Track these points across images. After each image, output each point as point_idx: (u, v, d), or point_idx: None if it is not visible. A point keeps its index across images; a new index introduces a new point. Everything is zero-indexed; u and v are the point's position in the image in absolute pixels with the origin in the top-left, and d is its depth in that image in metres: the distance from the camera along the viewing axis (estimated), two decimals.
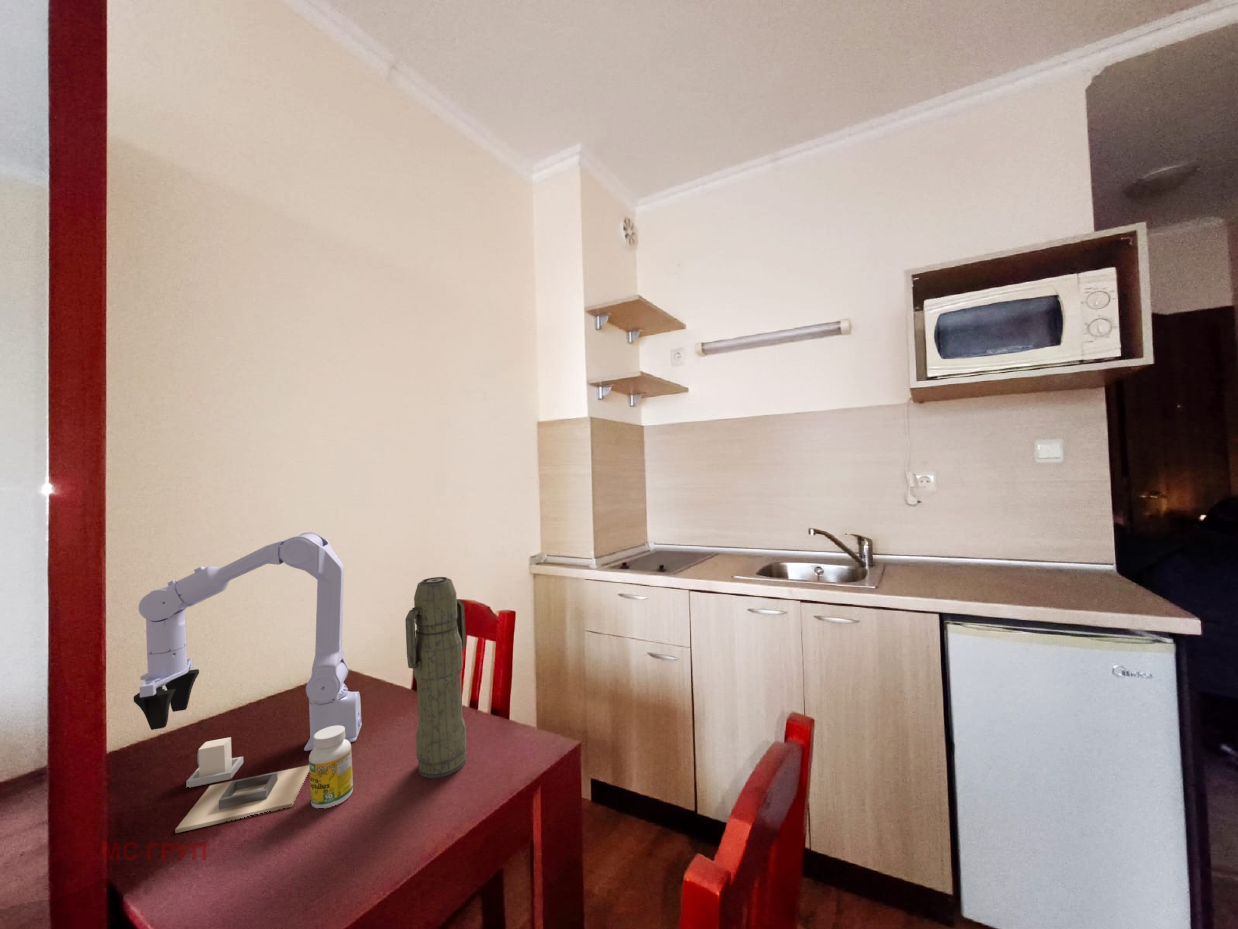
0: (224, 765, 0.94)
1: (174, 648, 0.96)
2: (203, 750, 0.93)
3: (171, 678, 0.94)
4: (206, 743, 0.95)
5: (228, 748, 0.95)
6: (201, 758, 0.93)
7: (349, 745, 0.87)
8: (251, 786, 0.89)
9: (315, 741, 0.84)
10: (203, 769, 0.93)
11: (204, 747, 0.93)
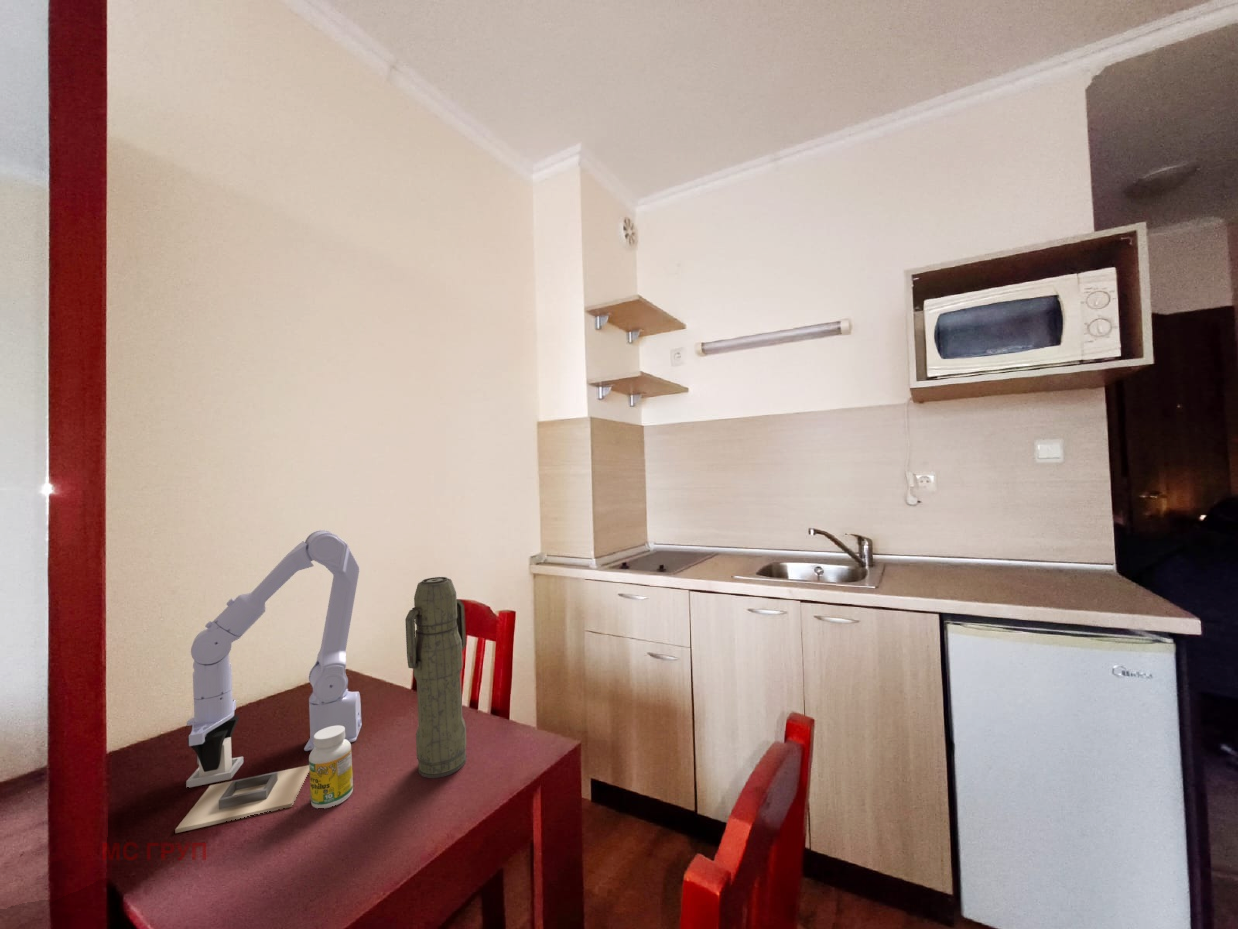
0: (224, 765, 0.94)
1: (226, 690, 0.94)
2: None
3: (219, 724, 0.92)
4: None
5: (228, 748, 0.95)
6: None
7: (349, 745, 0.87)
8: (251, 786, 0.89)
9: (315, 741, 0.84)
10: None
11: None
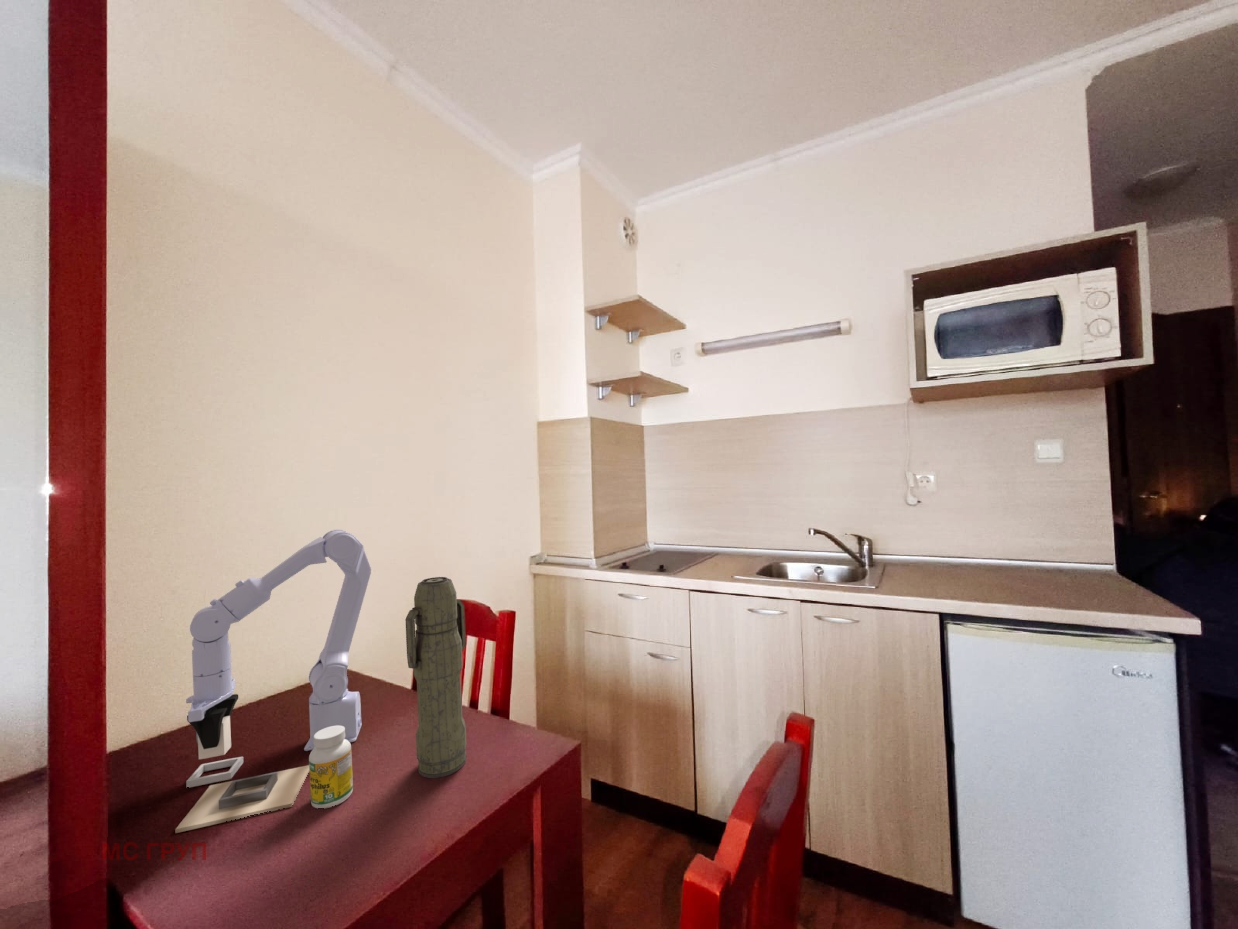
0: (224, 743, 0.94)
1: (225, 668, 0.94)
2: None
3: (218, 701, 0.92)
4: None
5: (227, 726, 0.95)
6: None
7: (349, 745, 0.87)
8: (251, 786, 0.89)
9: (315, 741, 0.84)
10: (202, 747, 0.93)
11: None
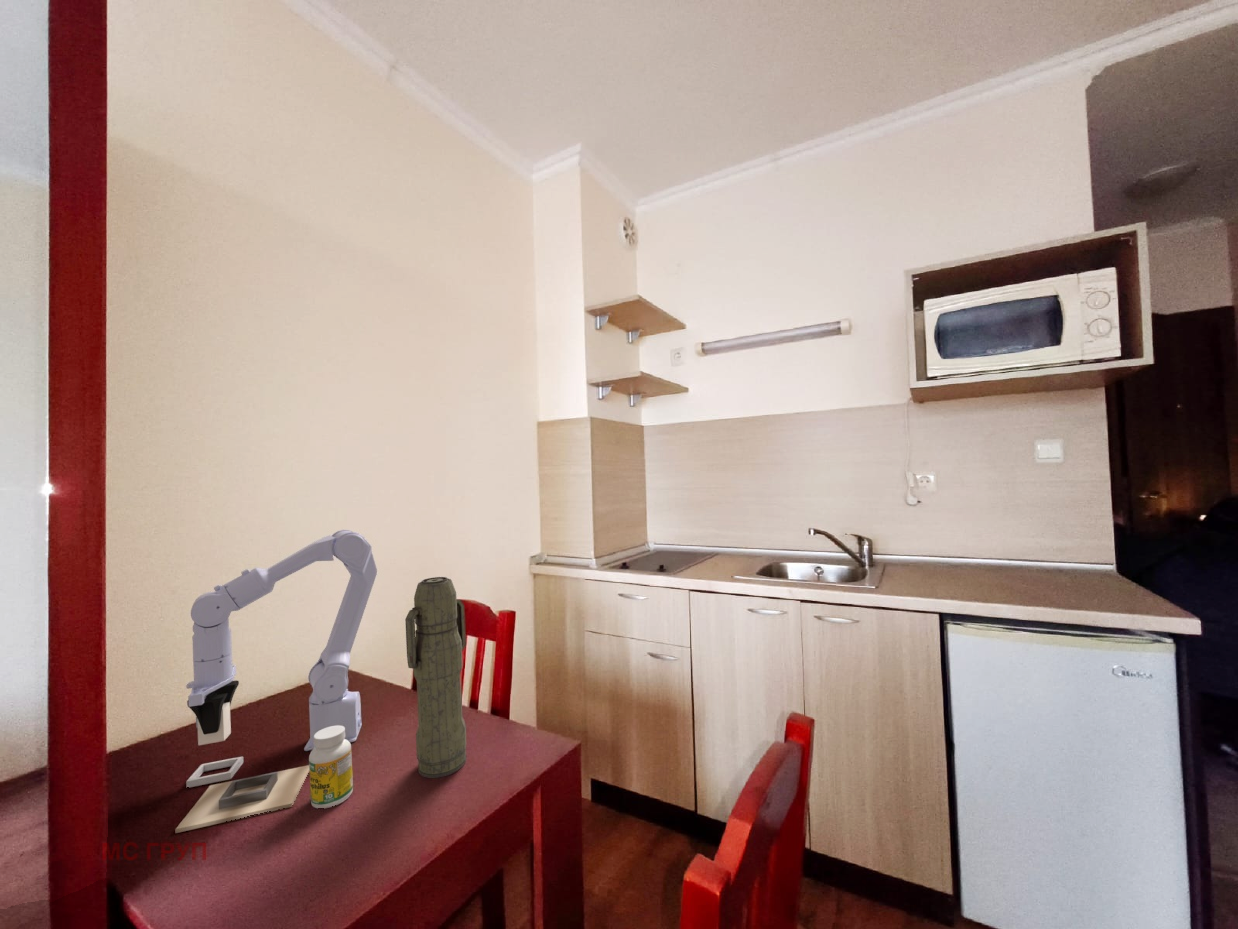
0: (223, 729, 0.93)
1: (226, 654, 0.94)
2: None
3: (218, 686, 0.92)
4: None
5: (226, 713, 0.95)
6: None
7: (349, 745, 0.87)
8: (251, 786, 0.89)
9: (315, 741, 0.84)
10: (202, 732, 0.92)
11: None
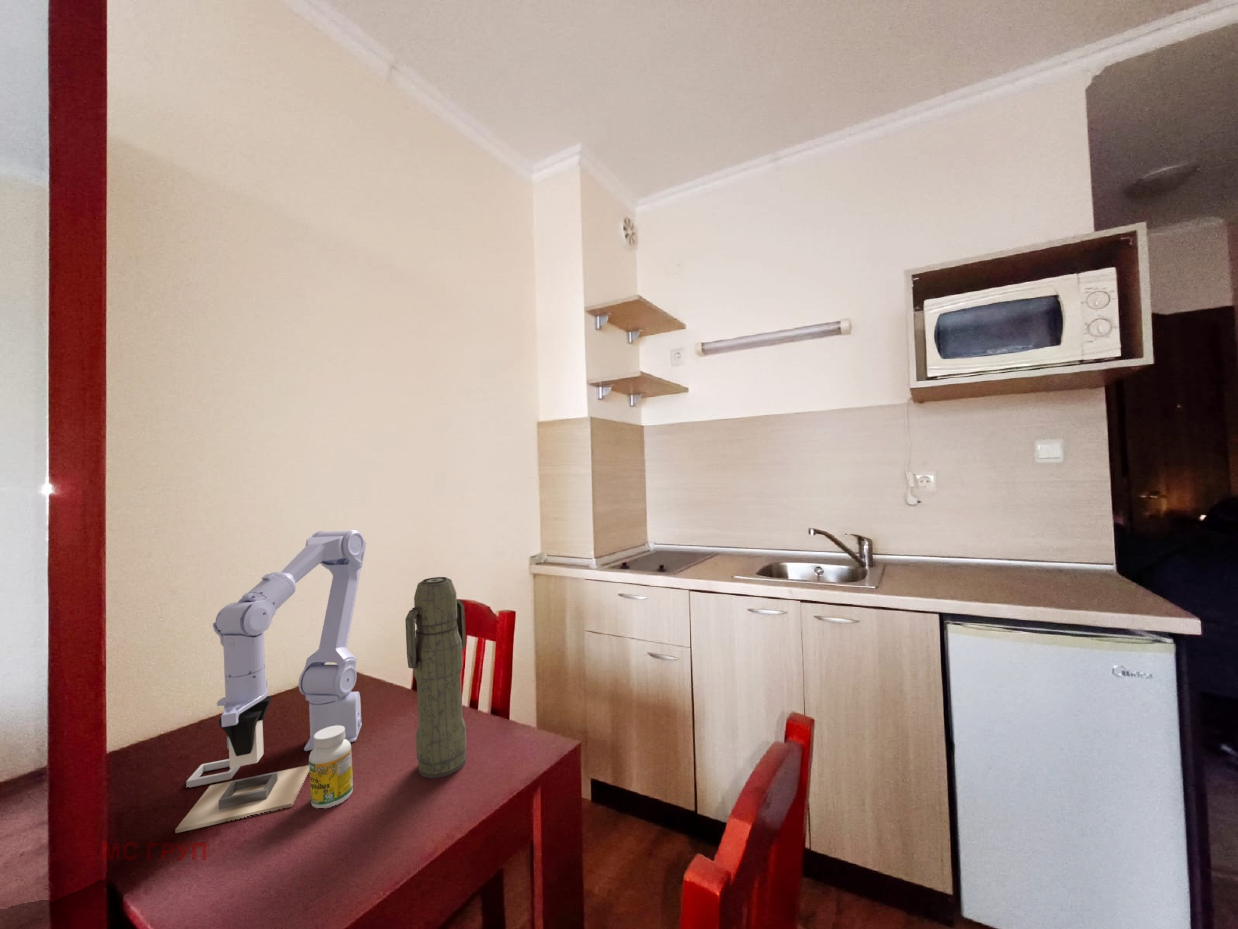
0: (256, 750, 0.86)
1: (264, 664, 0.89)
2: None
3: (252, 704, 0.85)
4: None
5: (259, 732, 0.88)
6: None
7: (349, 745, 0.87)
8: (251, 786, 0.89)
9: (315, 741, 0.84)
10: (233, 754, 0.85)
11: None
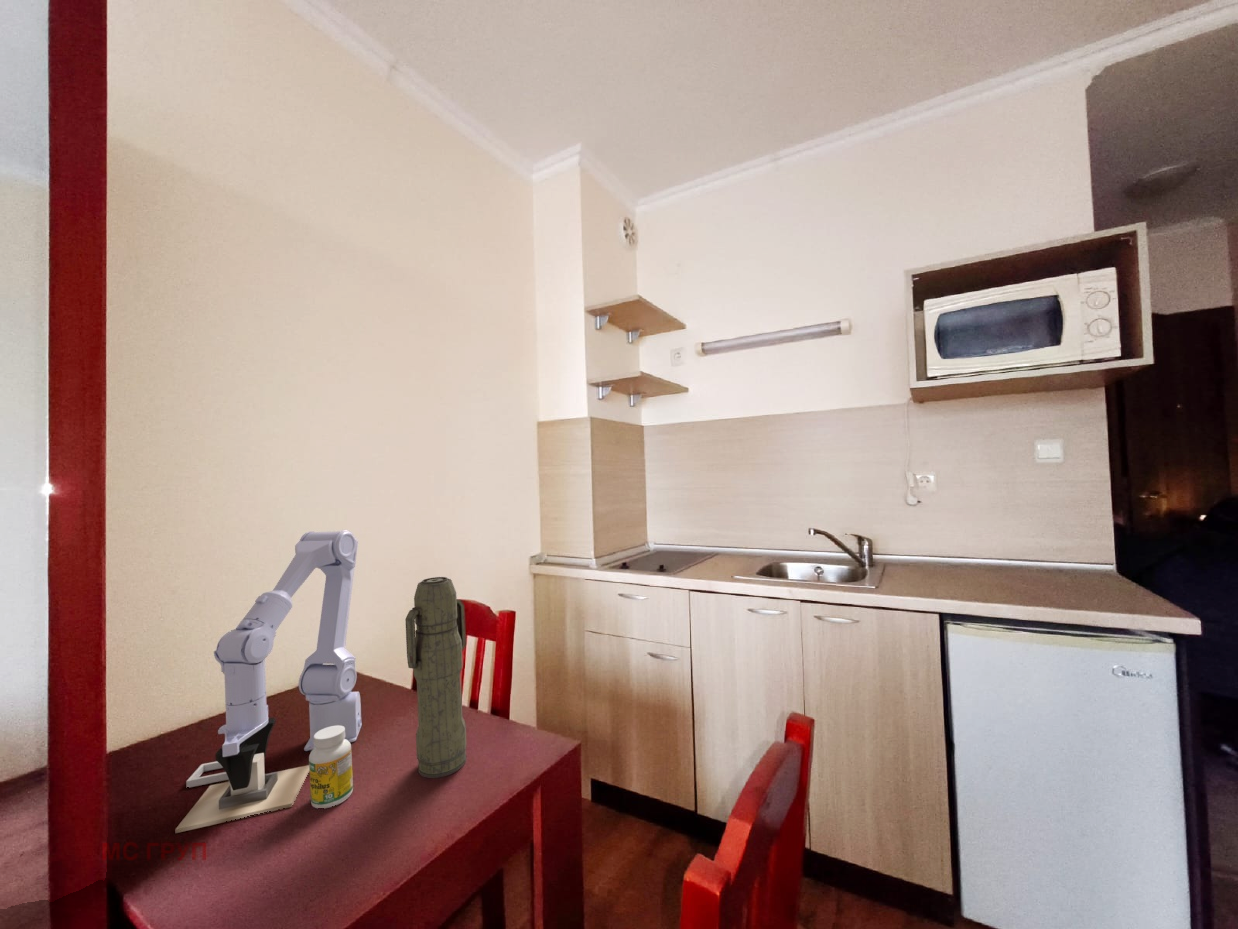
0: (257, 784, 0.86)
1: (265, 690, 0.89)
2: None
3: (253, 732, 0.85)
4: None
5: (261, 765, 0.88)
6: None
7: (349, 745, 0.87)
8: None
9: (315, 741, 0.84)
10: None
11: None
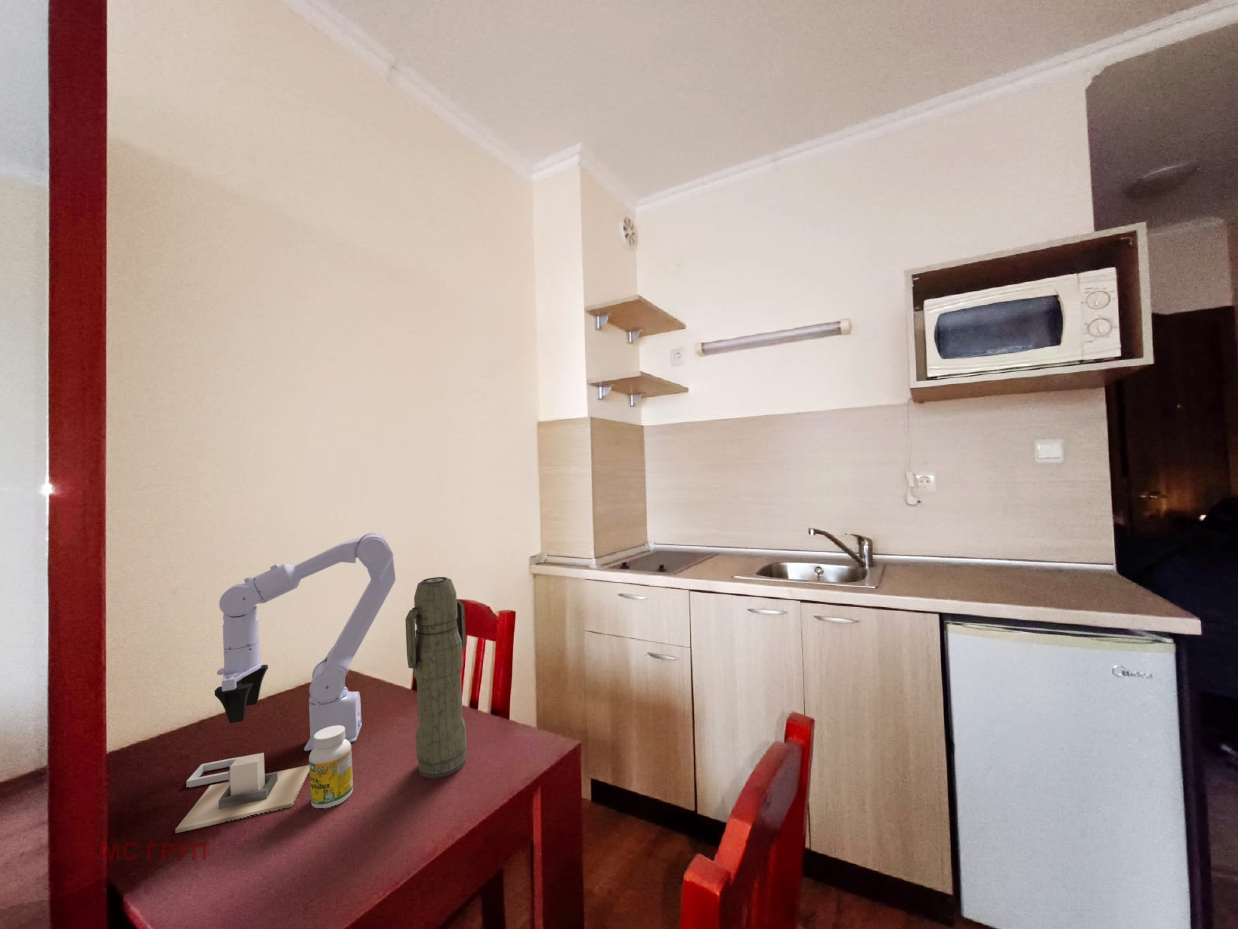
0: (257, 784, 0.86)
1: (252, 643, 0.98)
2: (235, 767, 0.85)
3: (248, 673, 0.97)
4: (237, 759, 0.87)
5: (261, 765, 0.88)
6: (233, 776, 0.85)
7: (349, 745, 0.87)
8: None
9: (315, 741, 0.84)
10: (235, 788, 0.85)
11: (236, 764, 0.86)
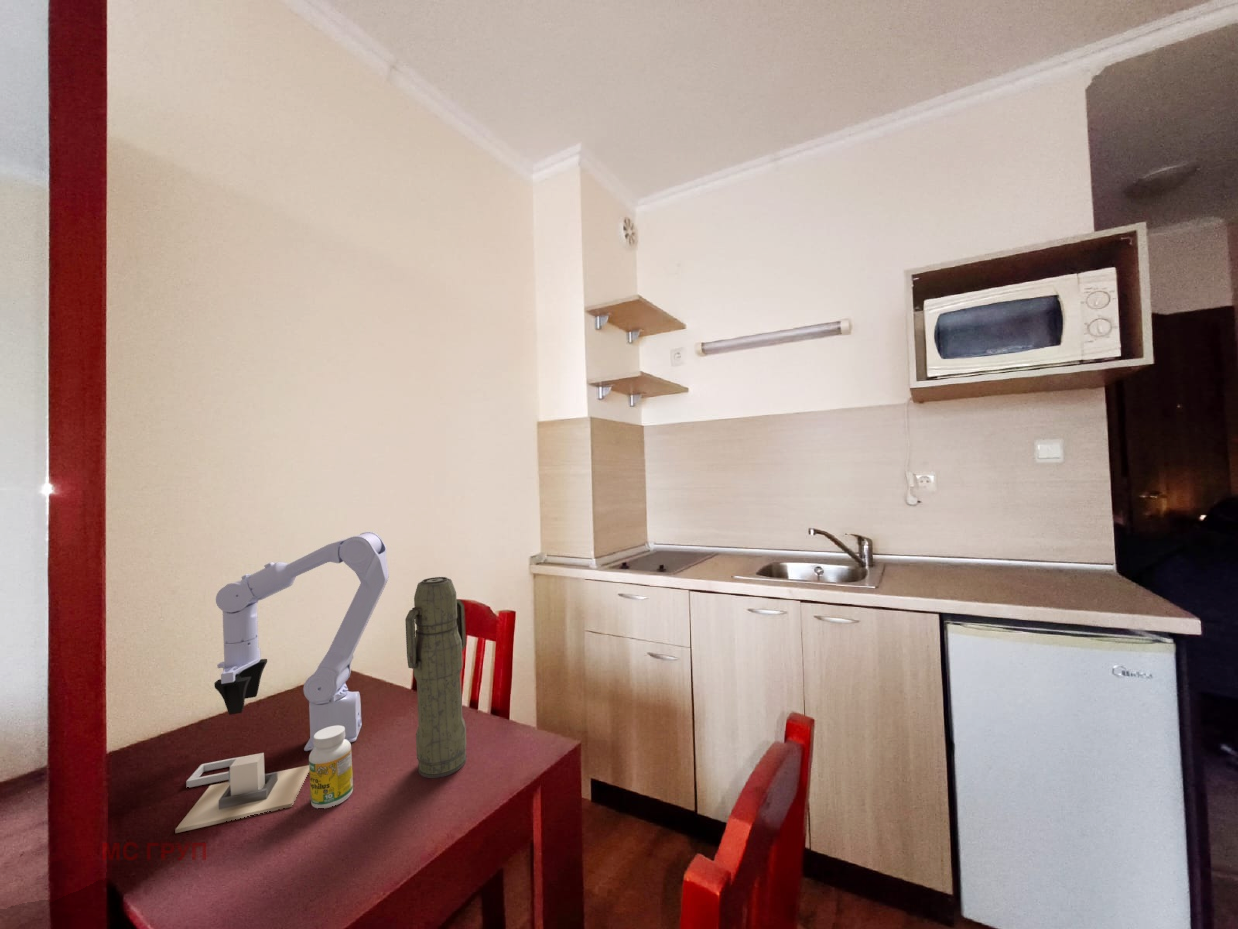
0: (257, 784, 0.86)
1: (246, 639, 1.01)
2: (235, 767, 0.85)
3: (247, 666, 1.00)
4: (237, 759, 0.87)
5: (261, 765, 0.88)
6: (233, 776, 0.85)
7: (349, 745, 0.87)
8: None
9: (315, 741, 0.84)
10: (235, 788, 0.85)
11: (236, 764, 0.86)
